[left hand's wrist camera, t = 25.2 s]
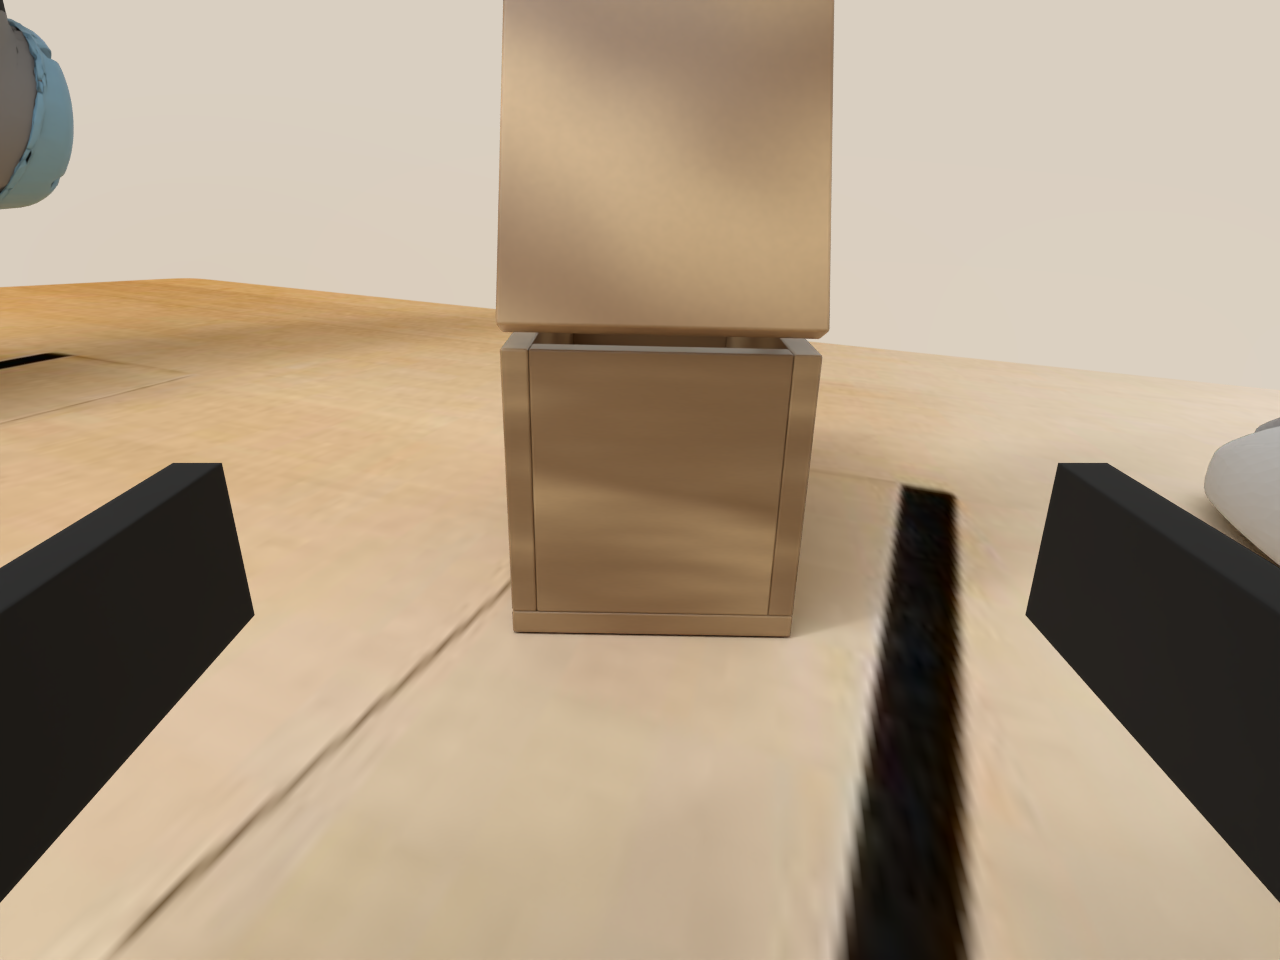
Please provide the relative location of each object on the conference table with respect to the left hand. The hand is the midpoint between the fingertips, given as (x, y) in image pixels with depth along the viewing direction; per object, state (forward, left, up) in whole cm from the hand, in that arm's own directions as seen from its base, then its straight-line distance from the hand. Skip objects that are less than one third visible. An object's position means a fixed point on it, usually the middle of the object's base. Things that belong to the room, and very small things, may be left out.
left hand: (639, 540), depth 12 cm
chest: (+16, -11, -9) cm, 21 cm away
